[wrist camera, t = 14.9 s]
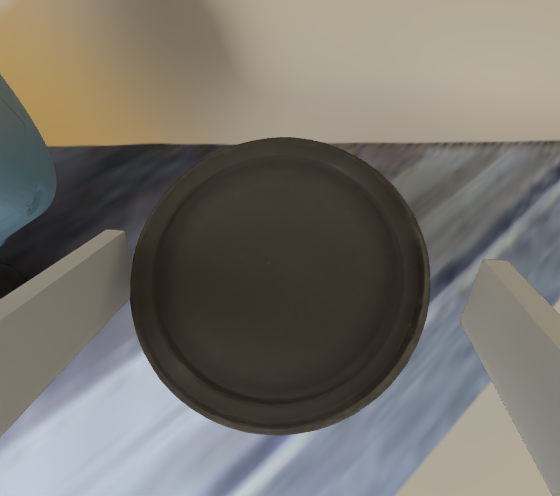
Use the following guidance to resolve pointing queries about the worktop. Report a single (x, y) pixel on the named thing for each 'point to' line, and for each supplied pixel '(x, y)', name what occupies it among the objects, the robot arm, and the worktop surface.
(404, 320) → the coffee can
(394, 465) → the worktop surface
